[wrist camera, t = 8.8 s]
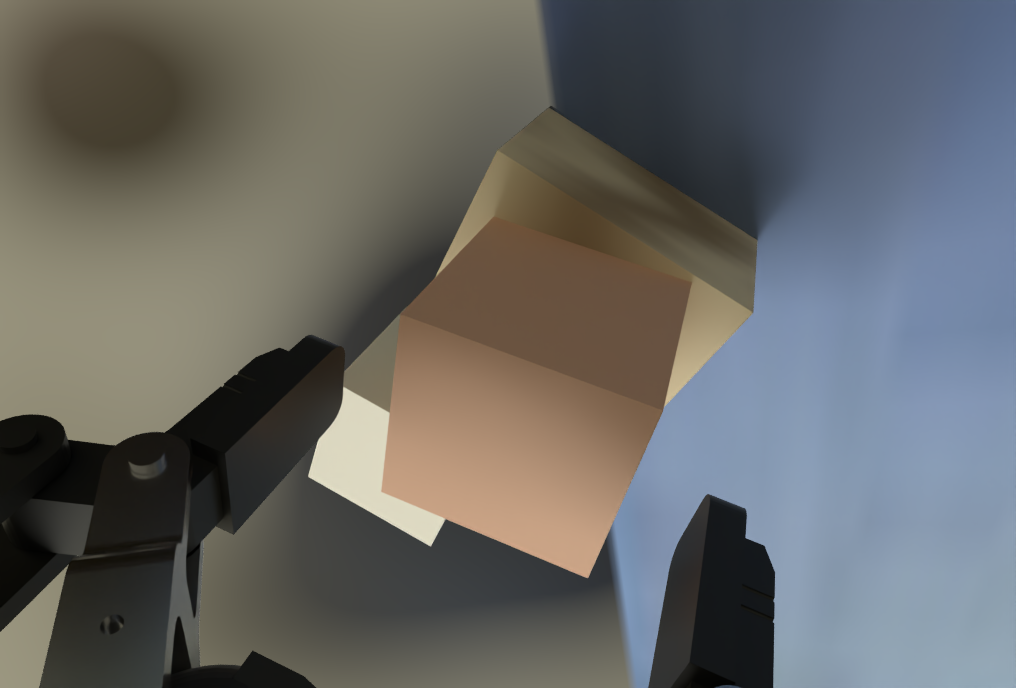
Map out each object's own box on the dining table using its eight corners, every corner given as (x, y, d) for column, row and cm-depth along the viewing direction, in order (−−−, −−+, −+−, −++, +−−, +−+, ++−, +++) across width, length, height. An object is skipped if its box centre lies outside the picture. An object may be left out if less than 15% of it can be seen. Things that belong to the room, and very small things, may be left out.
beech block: (757, 237, 18) (753, 312, 15) (626, 389, 23) (598, 476, 19) (550, 105, 18) (497, 150, 15) (458, 282, 23) (399, 350, 19)
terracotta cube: (692, 282, 15) (663, 410, 11) (628, 433, 18) (587, 578, 14) (493, 216, 16) (400, 314, 12) (463, 371, 19) (381, 491, 15)
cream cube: (526, 370, 24) (476, 461, 20) (481, 453, 27) (430, 546, 23) (407, 305, 24) (334, 381, 20) (376, 394, 27) (308, 476, 23)
